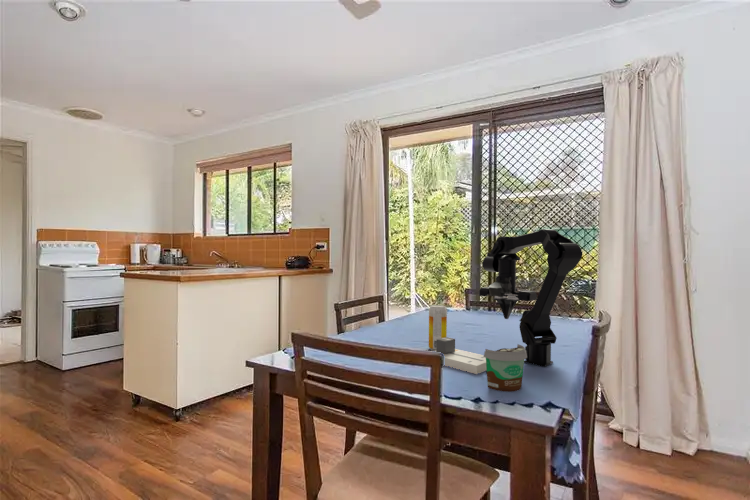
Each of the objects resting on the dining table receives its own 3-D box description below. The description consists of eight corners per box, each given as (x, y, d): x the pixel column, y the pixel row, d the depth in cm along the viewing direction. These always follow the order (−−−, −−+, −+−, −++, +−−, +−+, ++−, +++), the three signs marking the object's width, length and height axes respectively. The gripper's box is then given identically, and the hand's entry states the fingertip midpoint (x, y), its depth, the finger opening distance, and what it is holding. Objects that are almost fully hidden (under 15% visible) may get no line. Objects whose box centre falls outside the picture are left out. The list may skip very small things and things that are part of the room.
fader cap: (455, 351, 128) (455, 338, 128) (445, 354, 124) (445, 341, 124) (445, 349, 130) (446, 336, 130) (436, 352, 127) (436, 339, 127)
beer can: (445, 347, 142) (446, 305, 142) (447, 352, 136) (447, 307, 136) (428, 347, 143) (428, 304, 143) (428, 351, 137) (429, 307, 137)
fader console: (496, 366, 121) (496, 358, 121) (476, 374, 113) (476, 365, 113) (447, 354, 134) (447, 346, 134) (426, 360, 126) (426, 352, 126)
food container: (501, 396, 96) (501, 355, 96) (483, 388, 102) (483, 349, 102) (537, 388, 102) (538, 349, 102) (518, 381, 108) (519, 343, 107)
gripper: (470, 272, 139) (469, 318, 140) (521, 276, 126) (521, 326, 126) (487, 271, 147) (487, 314, 147) (537, 274, 134) (537, 321, 134)
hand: (506, 318), depth 138 cm, fingers closed
